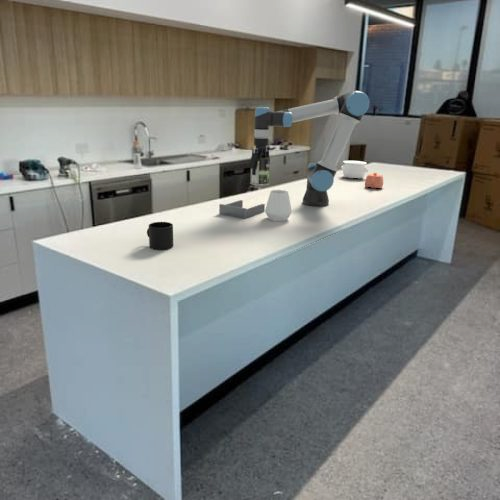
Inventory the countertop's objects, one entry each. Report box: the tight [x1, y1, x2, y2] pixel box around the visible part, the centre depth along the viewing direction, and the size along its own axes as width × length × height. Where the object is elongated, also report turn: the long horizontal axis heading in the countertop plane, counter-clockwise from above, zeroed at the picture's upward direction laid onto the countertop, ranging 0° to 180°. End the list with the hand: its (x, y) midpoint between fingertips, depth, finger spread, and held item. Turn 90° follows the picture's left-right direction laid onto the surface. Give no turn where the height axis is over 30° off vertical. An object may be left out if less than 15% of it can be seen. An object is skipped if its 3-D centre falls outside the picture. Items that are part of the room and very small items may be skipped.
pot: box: [340, 160, 369, 179], centre depth 356 cm, size 22×17×12 cm
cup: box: [264, 189, 293, 222], centre depth 229 cm, size 13×13×14 cm
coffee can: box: [249, 156, 271, 186], centre depth 248 cm, size 10×10×14 cm
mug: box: [146, 221, 174, 251], centre depth 183 cm, size 9×12×9 cm
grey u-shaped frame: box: [218, 199, 266, 219], centre depth 240 cm, size 16×20×5 cm
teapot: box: [364, 172, 384, 189], centre depth 318 cm, size 12×18×10 cm, turn 151°
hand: (259, 179), depth 249 cm, fingers closed on coffee can, 10 cm apart
